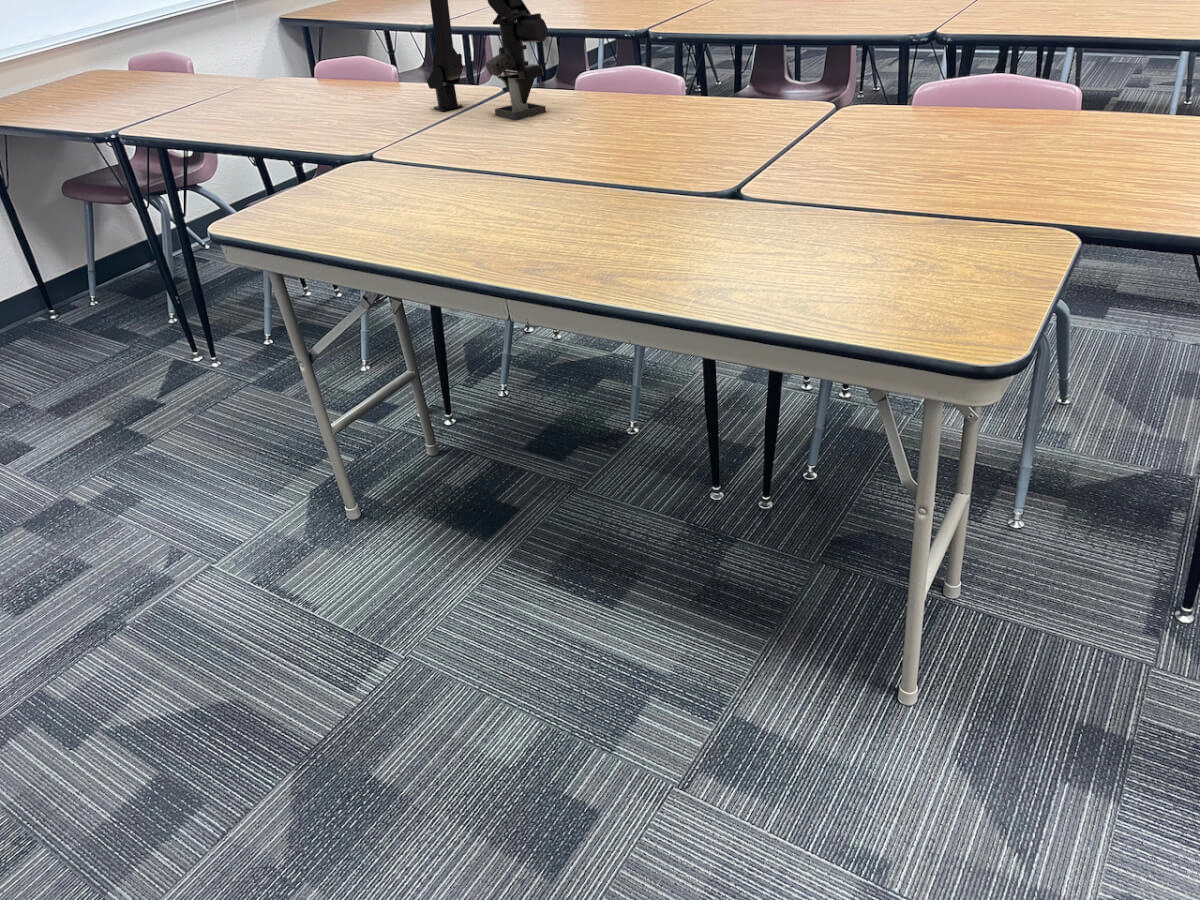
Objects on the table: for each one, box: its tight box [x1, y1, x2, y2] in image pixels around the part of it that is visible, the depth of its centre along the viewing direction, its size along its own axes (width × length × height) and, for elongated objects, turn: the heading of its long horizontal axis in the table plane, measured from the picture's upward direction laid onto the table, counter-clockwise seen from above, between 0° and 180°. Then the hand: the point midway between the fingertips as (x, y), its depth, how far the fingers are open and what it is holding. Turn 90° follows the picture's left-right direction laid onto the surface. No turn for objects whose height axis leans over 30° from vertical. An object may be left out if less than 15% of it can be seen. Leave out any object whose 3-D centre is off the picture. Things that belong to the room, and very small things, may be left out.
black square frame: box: [494, 102, 547, 121], centre depth 241 cm, size 10×10×2 cm
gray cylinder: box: [508, 74, 528, 112], centre depth 239 cm, size 4×4×10 cm
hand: (519, 102), depth 240 cm, fingers closed on gray cylinder, 4 cm apart
